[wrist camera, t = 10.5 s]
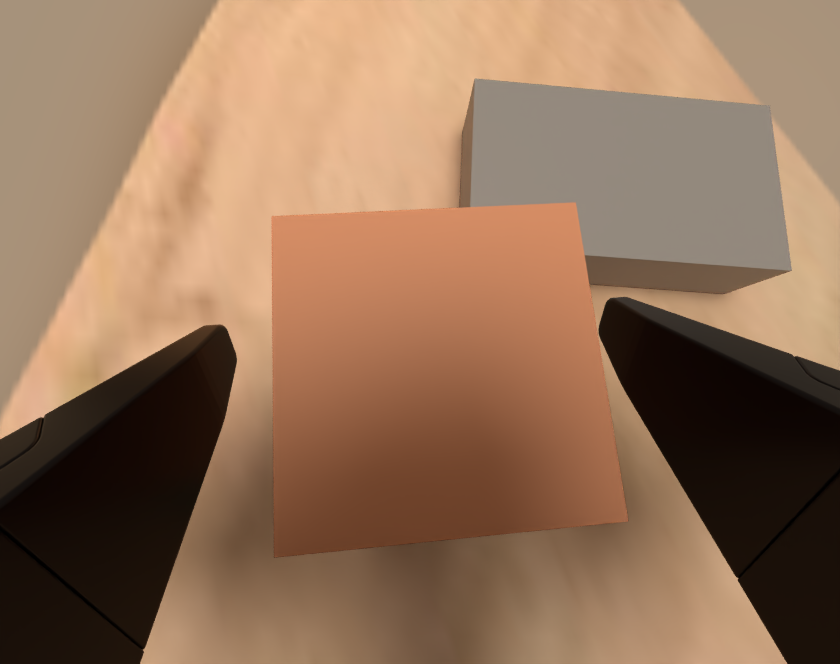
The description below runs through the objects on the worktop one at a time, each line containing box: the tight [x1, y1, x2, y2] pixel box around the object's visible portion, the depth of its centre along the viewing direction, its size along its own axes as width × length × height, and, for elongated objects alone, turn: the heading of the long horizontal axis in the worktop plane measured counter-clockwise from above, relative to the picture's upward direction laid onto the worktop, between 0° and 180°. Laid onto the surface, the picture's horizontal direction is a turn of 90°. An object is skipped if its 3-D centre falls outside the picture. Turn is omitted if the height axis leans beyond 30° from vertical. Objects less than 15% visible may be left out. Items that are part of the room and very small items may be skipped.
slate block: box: [459, 79, 792, 294], centre depth 16 cm, size 7×12×3 cm, turn 87°
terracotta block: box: [272, 202, 628, 558], centre depth 10 cm, size 5×5×9 cm
